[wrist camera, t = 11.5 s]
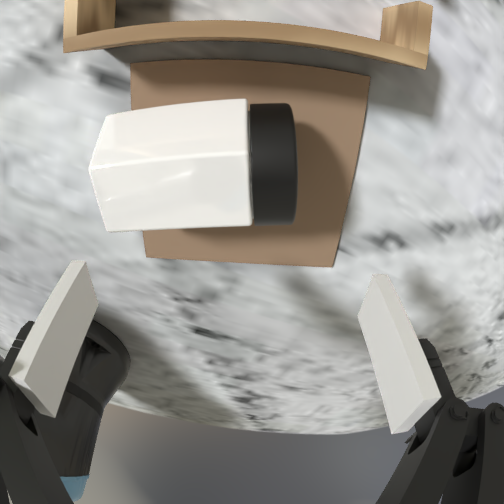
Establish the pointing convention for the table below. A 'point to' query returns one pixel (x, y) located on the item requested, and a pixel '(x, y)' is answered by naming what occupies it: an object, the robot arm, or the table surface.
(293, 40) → the crate
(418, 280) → the table surface
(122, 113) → the jar
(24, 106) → the table surface
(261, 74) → the mat
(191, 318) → the table surface
